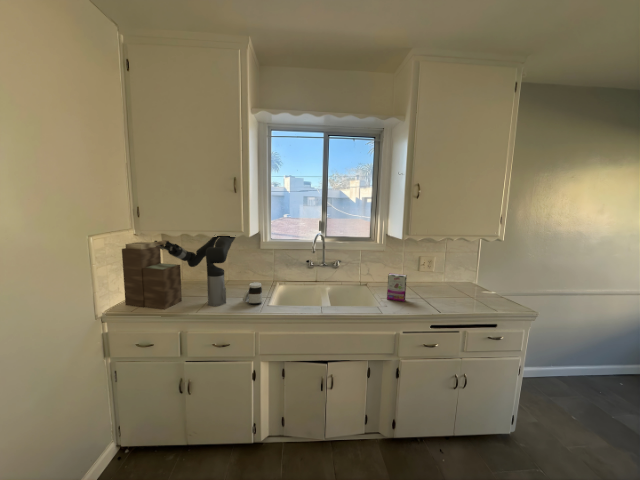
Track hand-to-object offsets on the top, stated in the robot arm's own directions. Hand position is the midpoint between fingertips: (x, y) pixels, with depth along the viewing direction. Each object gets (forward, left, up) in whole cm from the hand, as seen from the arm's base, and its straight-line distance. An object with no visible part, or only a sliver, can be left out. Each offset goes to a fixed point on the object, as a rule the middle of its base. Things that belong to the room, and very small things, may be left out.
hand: (160, 242), depth 163 cm
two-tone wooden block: (+6, +14, -33) cm, 37 cm away
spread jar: (-40, +44, -34) cm, 68 cm away
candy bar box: (-117, +90, -34) cm, 152 cm away
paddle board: (+5, +4, -1) cm, 7 cm away
